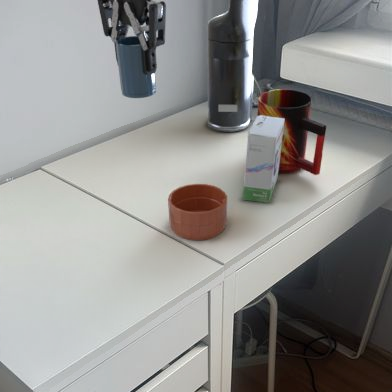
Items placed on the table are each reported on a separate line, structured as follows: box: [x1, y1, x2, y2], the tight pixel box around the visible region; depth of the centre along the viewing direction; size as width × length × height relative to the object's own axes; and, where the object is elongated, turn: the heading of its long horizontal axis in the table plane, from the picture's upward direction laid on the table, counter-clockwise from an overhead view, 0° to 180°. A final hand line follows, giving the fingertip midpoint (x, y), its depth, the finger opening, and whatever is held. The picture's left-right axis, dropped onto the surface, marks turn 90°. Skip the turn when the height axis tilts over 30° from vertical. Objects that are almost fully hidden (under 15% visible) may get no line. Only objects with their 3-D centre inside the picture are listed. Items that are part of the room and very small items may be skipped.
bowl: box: [167, 183, 228, 241], centre depth 82 cm, size 9×9×5 cm
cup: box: [116, 35, 157, 99], centre depth 86 cm, size 6×6×8 cm
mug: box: [257, 88, 327, 176], centre depth 95 cm, size 10×14×12 cm
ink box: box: [242, 115, 285, 204], centre depth 88 cm, size 9×5×12 cm, turn 164°
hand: (136, 69), depth 86 cm, fingers closed on cup, 6 cm apart
